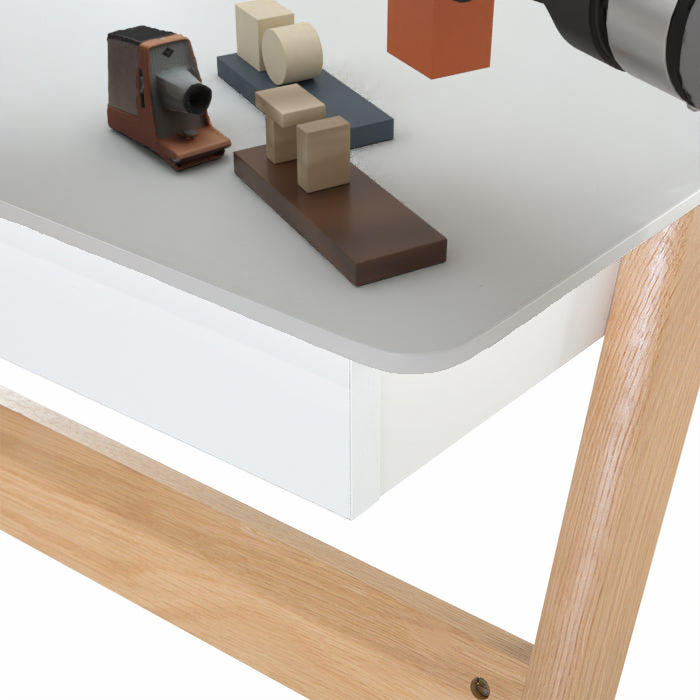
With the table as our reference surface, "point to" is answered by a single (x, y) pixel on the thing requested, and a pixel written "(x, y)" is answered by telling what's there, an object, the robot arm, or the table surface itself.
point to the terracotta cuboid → (440, 35)
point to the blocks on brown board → (332, 192)
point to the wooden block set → (295, 68)
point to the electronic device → (161, 96)
